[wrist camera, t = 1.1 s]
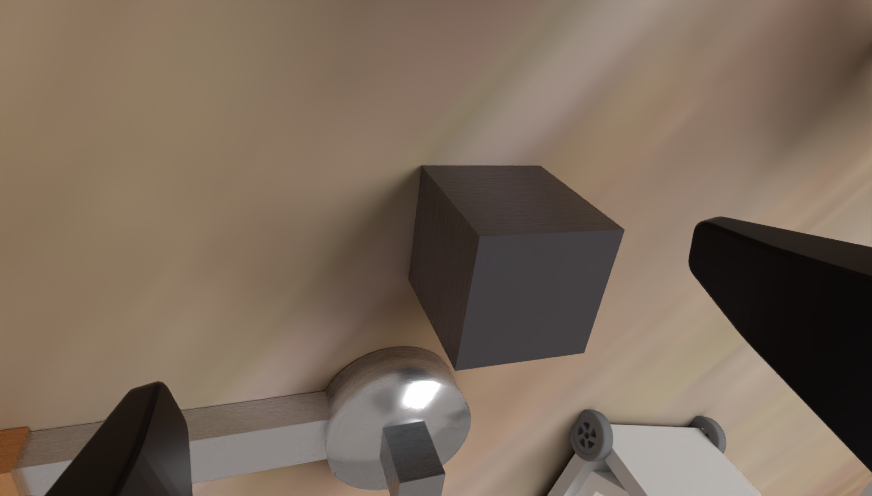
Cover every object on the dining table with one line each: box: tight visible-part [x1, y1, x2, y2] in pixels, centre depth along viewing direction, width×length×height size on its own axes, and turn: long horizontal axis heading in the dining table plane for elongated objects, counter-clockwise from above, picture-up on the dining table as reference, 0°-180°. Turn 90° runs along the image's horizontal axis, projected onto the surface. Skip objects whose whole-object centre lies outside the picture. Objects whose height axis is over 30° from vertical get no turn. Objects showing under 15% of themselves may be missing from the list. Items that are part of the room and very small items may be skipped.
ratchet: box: [0, 347, 471, 496], centre depth 21 cm, size 28×7×6 cm, turn 82°
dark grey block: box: [409, 166, 624, 371], centre depth 21 cm, size 5×5×6 cm
